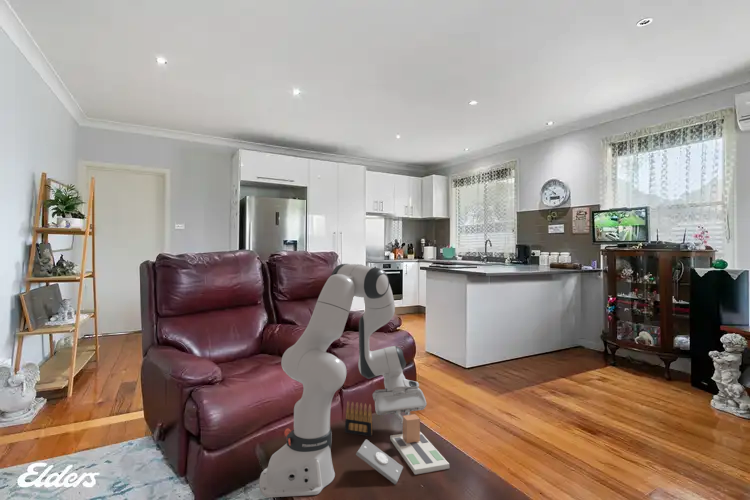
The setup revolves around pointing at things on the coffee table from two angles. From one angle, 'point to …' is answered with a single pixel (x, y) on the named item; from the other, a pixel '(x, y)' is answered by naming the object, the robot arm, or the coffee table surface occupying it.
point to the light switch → (380, 461)
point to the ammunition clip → (358, 420)
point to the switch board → (420, 454)
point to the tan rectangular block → (411, 428)
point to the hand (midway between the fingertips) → (405, 423)
